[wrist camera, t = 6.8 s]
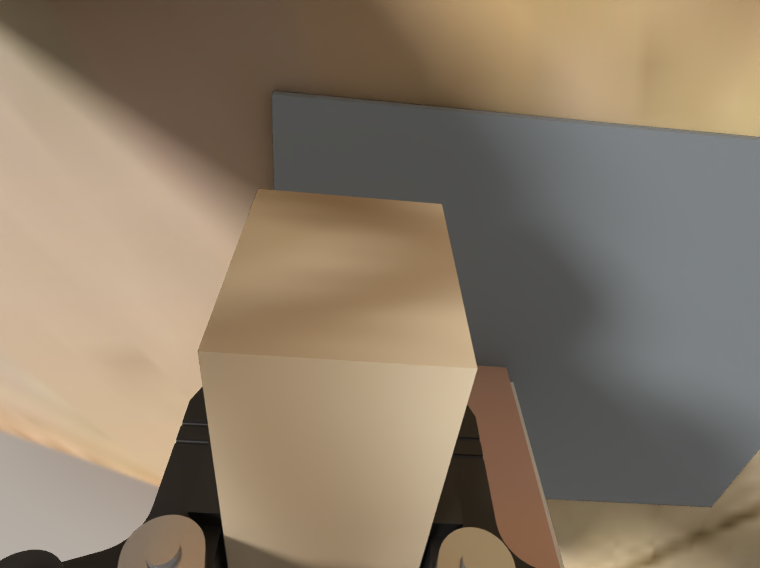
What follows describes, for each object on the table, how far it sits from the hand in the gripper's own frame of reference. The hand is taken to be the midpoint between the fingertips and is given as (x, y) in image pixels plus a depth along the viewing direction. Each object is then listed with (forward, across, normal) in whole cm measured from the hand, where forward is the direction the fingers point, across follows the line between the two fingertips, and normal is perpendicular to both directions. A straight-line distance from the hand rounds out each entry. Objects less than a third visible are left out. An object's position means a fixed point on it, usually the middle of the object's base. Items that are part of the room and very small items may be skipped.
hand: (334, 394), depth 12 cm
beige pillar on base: (0, 0, +2) cm, 2 cm away
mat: (+7, -9, +5) cm, 12 cm away
